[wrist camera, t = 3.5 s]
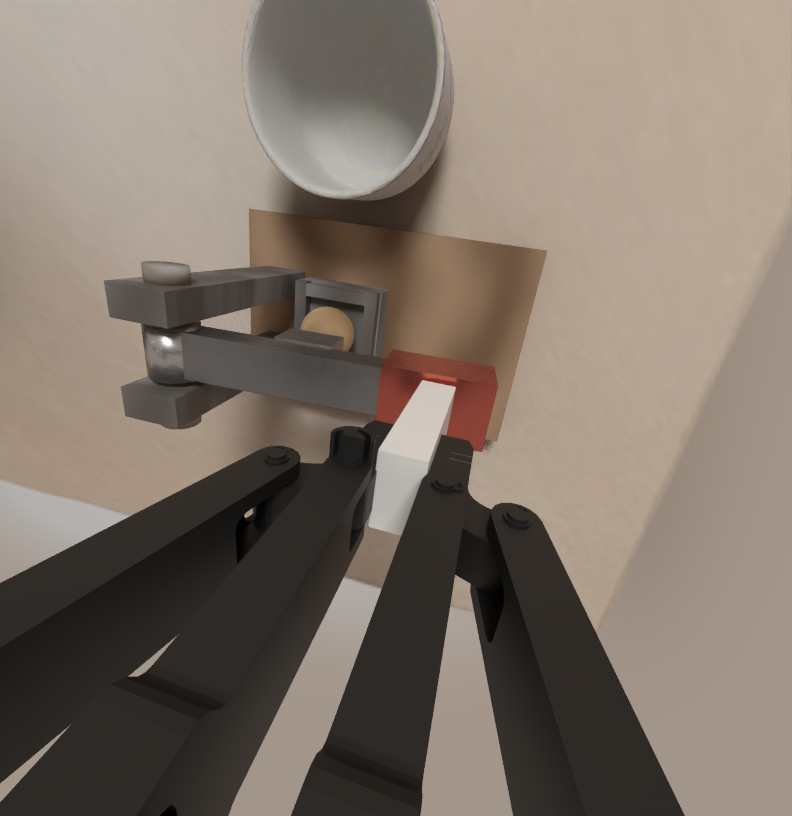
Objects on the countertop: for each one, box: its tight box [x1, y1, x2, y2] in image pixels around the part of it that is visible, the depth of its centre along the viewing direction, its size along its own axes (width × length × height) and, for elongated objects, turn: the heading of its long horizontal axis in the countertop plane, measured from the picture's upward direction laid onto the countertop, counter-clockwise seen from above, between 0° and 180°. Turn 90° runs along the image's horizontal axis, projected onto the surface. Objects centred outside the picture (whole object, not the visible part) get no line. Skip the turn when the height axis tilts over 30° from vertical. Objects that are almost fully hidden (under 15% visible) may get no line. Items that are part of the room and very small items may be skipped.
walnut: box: [300, 307, 354, 352], centre depth 27 cm, size 4×4×4 cm
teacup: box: [242, 0, 454, 201], centre depth 23 cm, size 14×11×8 cm
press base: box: [104, 209, 547, 442], centre depth 25 cm, size 21×14×16 cm, turn 82°
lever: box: [141, 321, 498, 452], centre depth 20 cm, size 17×3×5 cm, turn 82°
